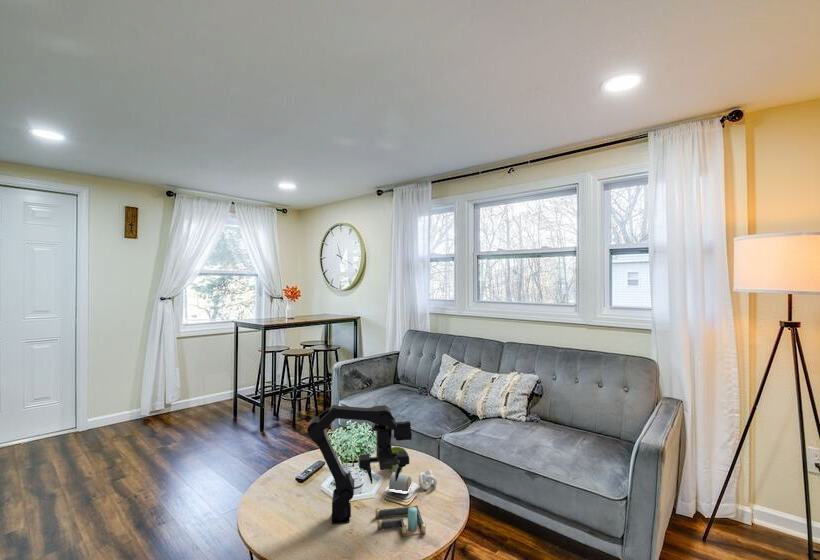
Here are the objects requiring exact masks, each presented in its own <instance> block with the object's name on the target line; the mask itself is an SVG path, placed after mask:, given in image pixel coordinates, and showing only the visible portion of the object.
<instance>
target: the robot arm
mask: <svg viewBox="0 0 820 560" xmlns="http://www.w3.org/2000/svg"><path fill="white" fill-rule="evenodd" d="M392 414H393V413H392V410H391V408H390V407H389V406H388V405H385V404H384V405H375V406H372V407H360V406H346V405H345V406H344V405H337V404H334V405H331V406H330V407H329V408H328V409H326V410H325V411H323V412H322V413H320V414H319V415H317V416H314V417H312V418H311V419H310V420H309V423H308V426H307V429H306V432H307V435H308V436H309V438H310V439H311V440H312V442H313V443H314V444H316V446H317V447H318V448H319V451H320V452H321V455H322V457H323V459H324V461H325V463H326V465H327V468H328V469H329V472H330V473H331V476H332V478H333V480H334V486H335V488H334V490H332V492H333V493H332V500H331V524H332V525H336V524H337V525H338V524H344V523H345V524H346V523H350V522H351V521H350V520H351V519H350V518H351V516H352V506H351V505H352V504H351V502H350V501H351V500H352V499H353V497H354V495H355V494H354V492H355V479H354V477H353V476H352V472H351V471H348V472H346V471H345V470H344V468H343V466H342V464H341V461H340V460H339V457H338V455H337V454H336V451H335V450H334V447H333V445H332V443H331V440H330V439H329V435H328V430H327V428H328V427H329V426H330V425H331V424H332V423H333V422H334V421H335V420H337V419H339V420H340V419H341V420H353V421H354V420H355V421H366V422H370V423H372V425H371V431H372V432H376V436H375V437H376V440H375V441H376V449H375V450H376V451H375V453H376V456H375V457H370V454H369V453H367V454H365V453H364V454H359V456H358V466H359V469H361V470H363V471H366V473H367V475H368V478H369V481H370V484H371V485H372V484H373V473H372V467H371V464H377V463H378V467H379V470H380V471H386V470H389V471H390V470H391V469H392V468H393V465H396V468H395V481H397V479H398V476H399V473H400V474H401V469H402V470H403V468H404V467H407V466H408V465H410V456H409V454H408V452H407V450H406V451H400V452H397V454H394V453H392V447H393V446H392V442H393V441H392V439H395V441H396V442H400V441H401V442H402V441H412V440H413V439H412V437H413V436H412V427H411V421H410V420H407V421H396V418H395V417H394V416H393V415H392ZM392 437H393V438H392ZM406 465H407V466H406Z"/></svg>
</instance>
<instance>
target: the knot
mask: <svg viewBox="0 0 820 560" xmlns="http://www.w3.org/2000/svg"><path fill="white" fill-rule="evenodd" d="M418 482H419V485H420V486H421V488H422V489H423V490H426V491H428V490H430V488H431V486H433V487H434V486H436V485H437V484H438V480H437V478H436V477H435V476H434V475H433V471H432V470H431V469H428V470H426V471H425V472H420V473H419V475H418ZM426 483H427V484H426Z"/></svg>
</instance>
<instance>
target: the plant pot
mask: <svg viewBox="0 0 820 560" xmlns="http://www.w3.org/2000/svg"><path fill="white" fill-rule="evenodd" d="M400 451H406V452H407V450H406V449H405V448H404V447H403V446H402V447H401V446H392V453H394V454H397V452H400ZM395 468H396V465H393V468H392V469H391V470H389V471H390V472H391V473H393V472H395ZM401 471H403V468H402V469H401ZM401 471H400V472H401Z"/></svg>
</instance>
